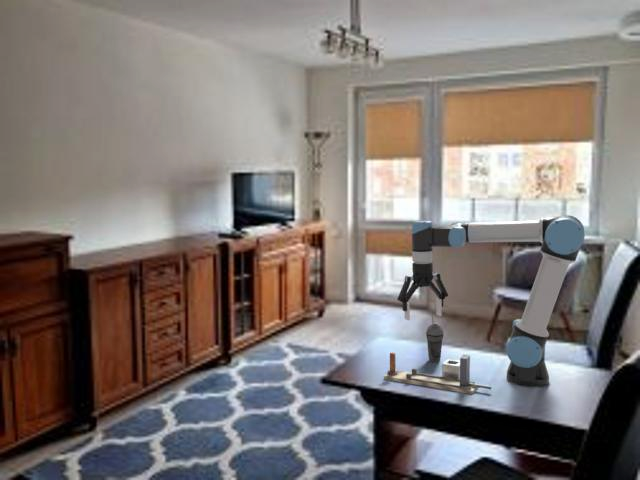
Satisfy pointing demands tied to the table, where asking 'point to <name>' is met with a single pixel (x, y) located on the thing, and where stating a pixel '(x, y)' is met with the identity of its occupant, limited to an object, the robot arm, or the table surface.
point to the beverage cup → (434, 341)
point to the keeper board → (426, 379)
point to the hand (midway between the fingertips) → (423, 317)
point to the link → (451, 369)
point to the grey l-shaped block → (467, 373)
